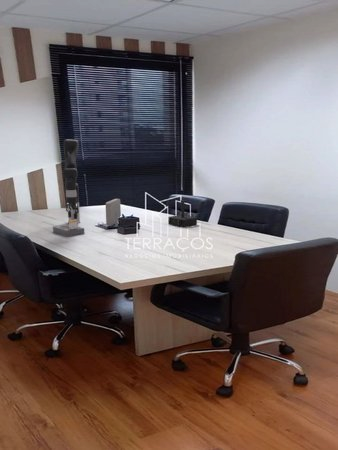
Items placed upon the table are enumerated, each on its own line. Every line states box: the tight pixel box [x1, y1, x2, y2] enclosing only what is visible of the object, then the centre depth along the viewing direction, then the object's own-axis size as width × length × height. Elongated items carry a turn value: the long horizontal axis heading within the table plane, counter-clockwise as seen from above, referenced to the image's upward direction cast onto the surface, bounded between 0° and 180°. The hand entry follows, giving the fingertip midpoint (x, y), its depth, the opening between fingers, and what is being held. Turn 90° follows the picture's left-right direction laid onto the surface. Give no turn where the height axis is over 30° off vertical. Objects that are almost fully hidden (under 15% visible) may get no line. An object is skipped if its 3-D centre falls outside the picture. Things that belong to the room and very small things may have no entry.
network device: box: [105, 198, 122, 226], centre depth 343 cm, size 26×9×20 cm, turn 168°
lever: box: [68, 220, 78, 229], centre depth 309 cm, size 3×5×6 cm, turn 132°
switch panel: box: [52, 223, 85, 237], centre depth 316 cm, size 22×14×4 cm, turn 42°
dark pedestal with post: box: [167, 199, 198, 228], centre depth 341 cm, size 19×17×20 cm
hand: (72, 218), depth 309 cm, fingers open, 8 cm apart
